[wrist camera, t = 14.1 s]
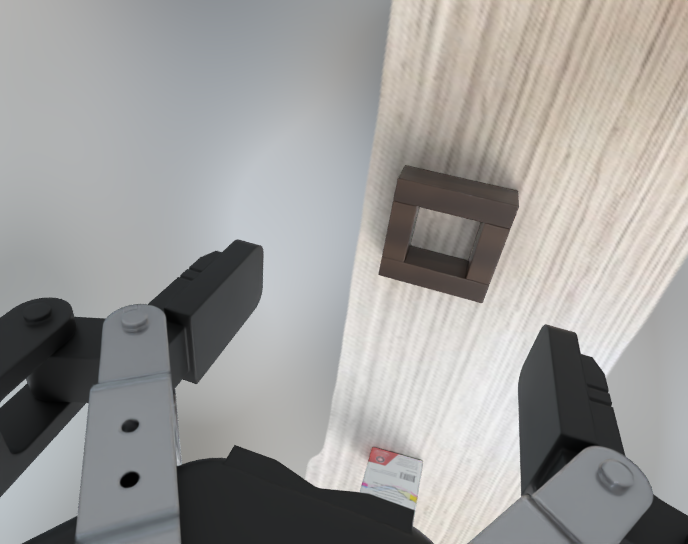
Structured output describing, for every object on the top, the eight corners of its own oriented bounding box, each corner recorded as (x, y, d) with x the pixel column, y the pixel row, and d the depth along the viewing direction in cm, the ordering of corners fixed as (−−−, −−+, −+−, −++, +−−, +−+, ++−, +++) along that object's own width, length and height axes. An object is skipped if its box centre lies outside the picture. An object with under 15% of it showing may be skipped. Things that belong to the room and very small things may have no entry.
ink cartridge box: (369, 463, 77) (344, 552, 65) (372, 445, 74) (346, 534, 62) (420, 478, 75) (403, 572, 63) (424, 460, 72) (408, 554, 60)
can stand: (405, 164, 48) (397, 178, 45) (518, 190, 46) (519, 206, 43) (385, 257, 55) (378, 275, 51) (483, 284, 53) (482, 303, 49)
